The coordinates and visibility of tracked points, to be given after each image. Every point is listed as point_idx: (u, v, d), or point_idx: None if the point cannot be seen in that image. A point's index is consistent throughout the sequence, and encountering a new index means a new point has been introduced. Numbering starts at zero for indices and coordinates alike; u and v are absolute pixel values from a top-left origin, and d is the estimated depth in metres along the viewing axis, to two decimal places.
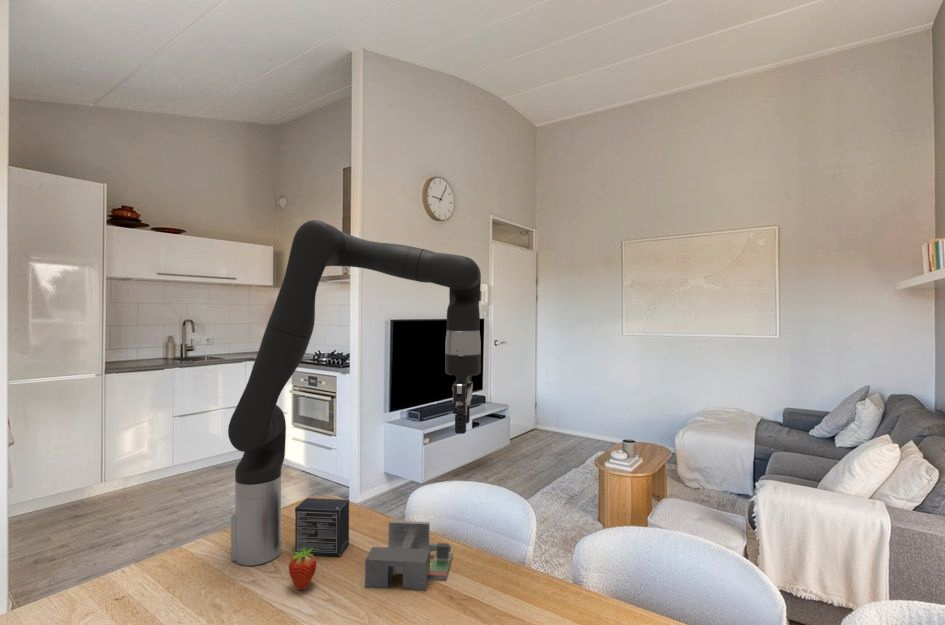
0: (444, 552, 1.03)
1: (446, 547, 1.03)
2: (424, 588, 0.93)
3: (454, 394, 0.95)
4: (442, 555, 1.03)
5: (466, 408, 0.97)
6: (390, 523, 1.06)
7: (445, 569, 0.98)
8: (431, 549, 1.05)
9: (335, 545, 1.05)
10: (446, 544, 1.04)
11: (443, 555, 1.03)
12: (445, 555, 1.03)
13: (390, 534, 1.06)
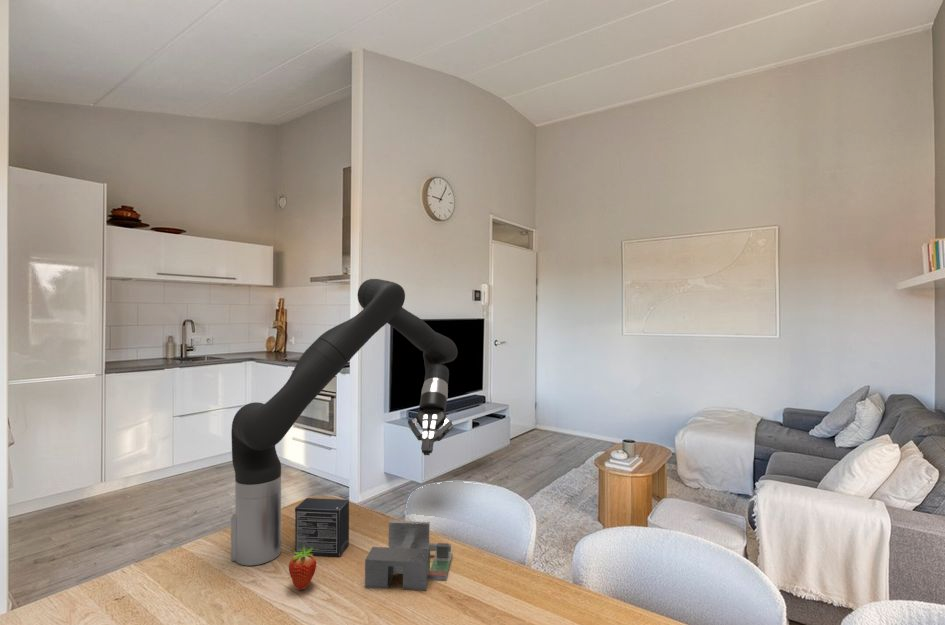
0: (444, 552, 1.03)
1: (446, 547, 1.03)
2: (424, 588, 0.93)
3: (448, 427, 1.29)
4: (442, 555, 1.03)
5: None
6: (390, 523, 1.06)
7: (445, 569, 0.98)
8: (431, 549, 1.05)
9: (335, 545, 1.05)
10: (446, 544, 1.04)
11: (443, 555, 1.03)
12: (445, 555, 1.03)
13: (390, 534, 1.06)
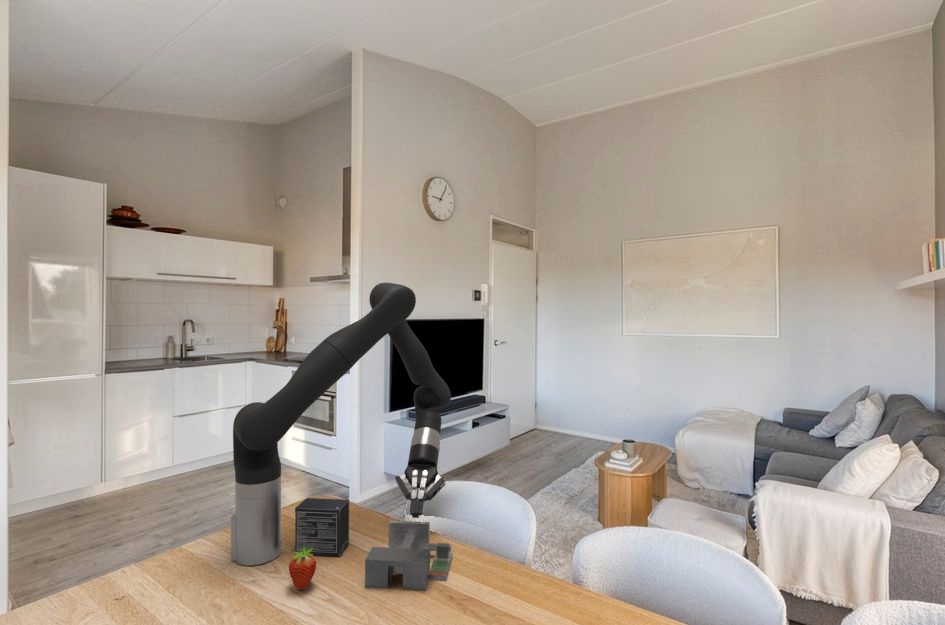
0: (444, 552, 1.03)
1: (446, 547, 1.03)
2: (424, 588, 0.93)
3: (439, 485, 1.17)
4: (442, 555, 1.03)
5: None
6: (390, 523, 1.06)
7: (445, 569, 0.98)
8: (431, 549, 1.05)
9: (335, 545, 1.05)
10: (446, 544, 1.04)
11: (443, 555, 1.03)
12: (445, 555, 1.03)
13: (390, 534, 1.06)
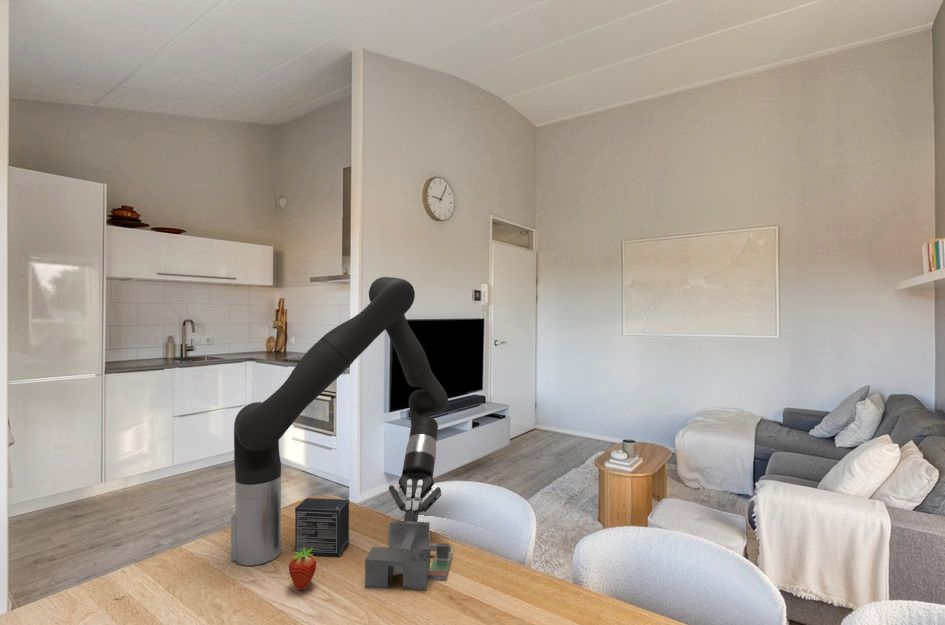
0: (444, 552, 1.03)
1: (446, 547, 1.03)
2: (424, 588, 0.93)
3: (435, 496, 1.11)
4: (442, 555, 1.03)
5: None
6: (390, 523, 1.06)
7: (445, 569, 0.98)
8: (431, 549, 1.05)
9: (335, 545, 1.05)
10: (446, 544, 1.04)
11: (443, 555, 1.03)
12: (445, 555, 1.03)
13: (390, 534, 1.06)
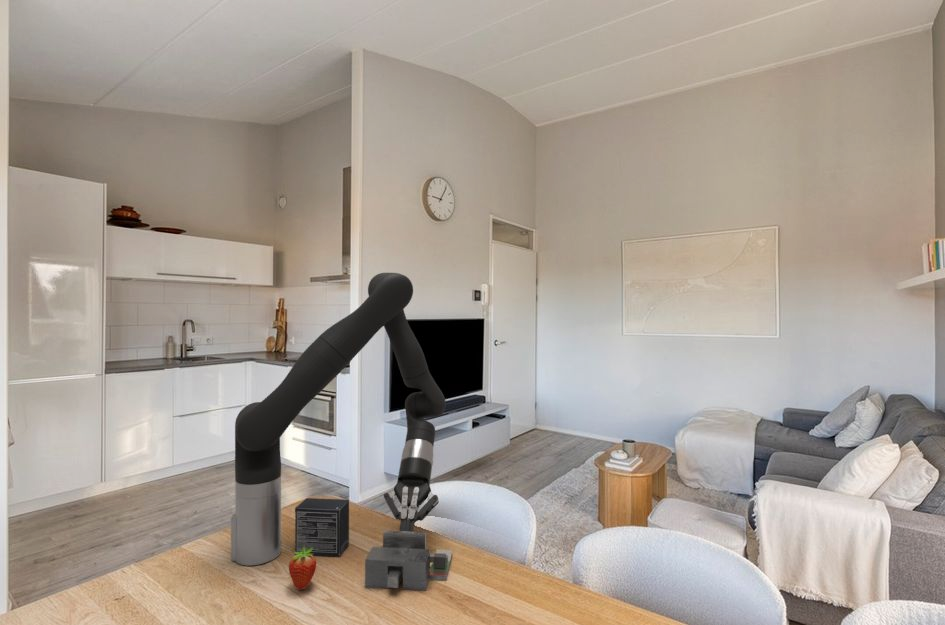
0: (441, 563, 0.99)
1: (443, 558, 0.99)
2: (424, 588, 0.93)
3: (432, 504, 1.06)
4: (439, 566, 0.99)
5: None
6: (385, 533, 1.01)
7: (445, 569, 0.98)
8: None
9: (335, 545, 1.05)
10: (443, 554, 1.00)
11: (440, 566, 0.99)
12: (442, 566, 0.99)
13: (384, 544, 1.01)
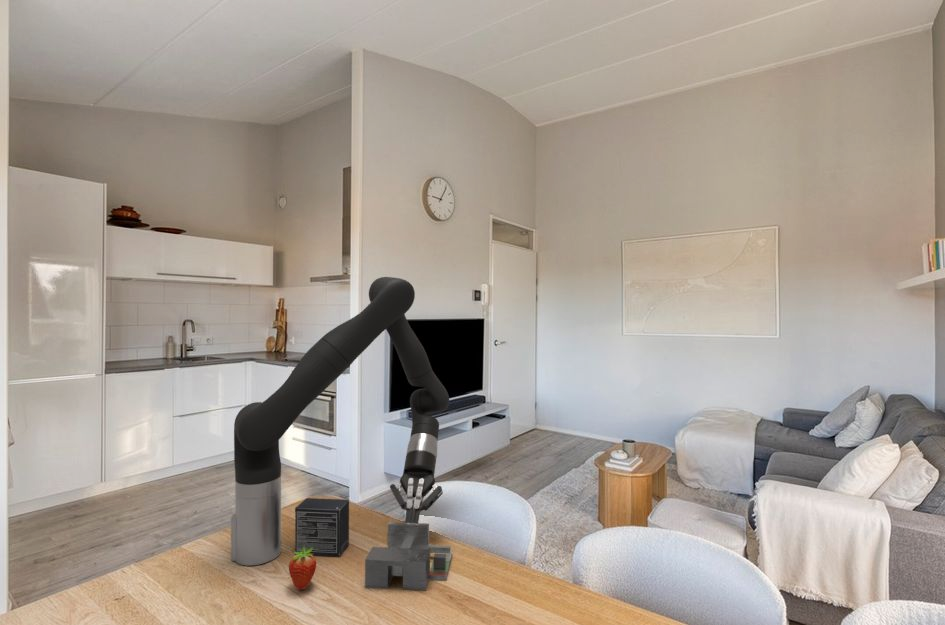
0: (441, 563, 0.98)
1: (443, 558, 0.98)
2: (424, 588, 0.93)
3: (436, 495, 1.11)
4: (439, 566, 0.98)
5: None
6: (389, 525, 1.05)
7: (445, 569, 0.98)
8: (430, 551, 1.04)
9: (335, 545, 1.05)
10: (443, 555, 0.99)
11: (440, 566, 0.98)
12: (442, 566, 0.98)
13: (389, 536, 1.05)
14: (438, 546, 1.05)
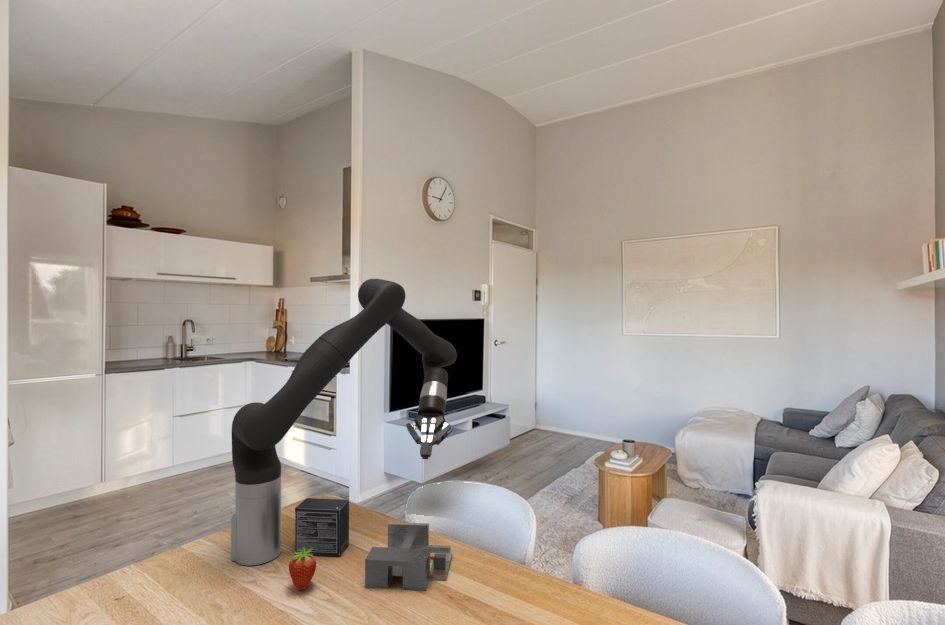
0: (441, 563, 0.98)
1: (443, 558, 0.98)
2: (424, 588, 0.93)
3: (447, 431, 1.28)
4: (439, 566, 0.98)
5: None
6: (389, 525, 1.05)
7: (445, 569, 0.98)
8: (430, 551, 1.04)
9: (335, 545, 1.05)
10: (443, 555, 0.99)
11: (440, 566, 0.98)
12: (442, 566, 0.98)
13: (389, 536, 1.05)
14: (438, 546, 1.05)
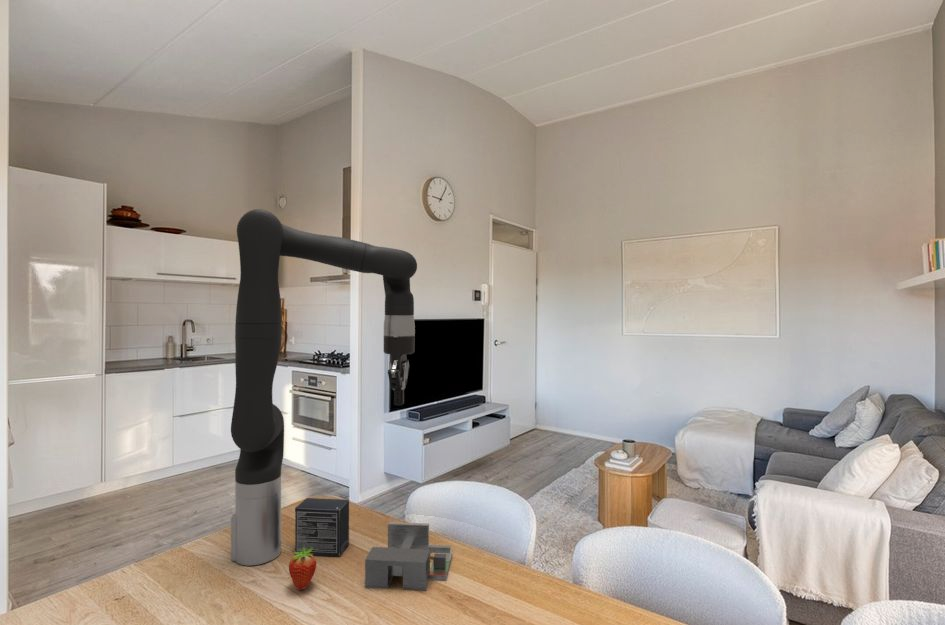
0: (441, 563, 0.98)
1: (443, 558, 0.98)
2: (424, 588, 0.93)
3: (389, 378, 1.12)
4: (439, 566, 0.98)
5: (403, 384, 1.16)
6: (389, 525, 1.05)
7: (445, 569, 0.98)
8: (430, 551, 1.04)
9: (335, 545, 1.05)
10: (443, 555, 0.99)
11: (440, 566, 0.98)
12: (442, 566, 0.98)
13: (389, 536, 1.05)
14: (438, 546, 1.05)
